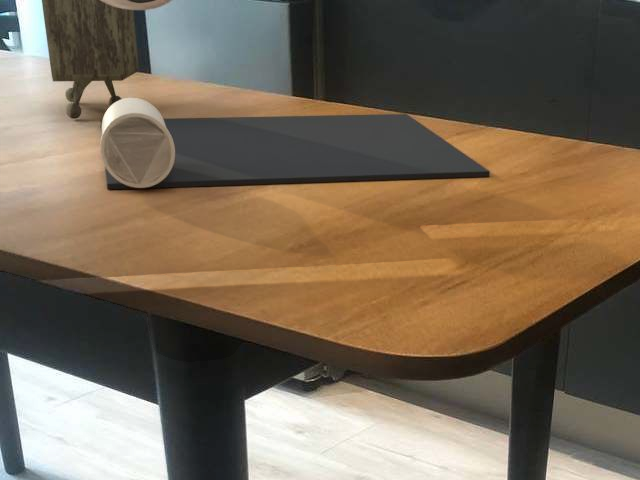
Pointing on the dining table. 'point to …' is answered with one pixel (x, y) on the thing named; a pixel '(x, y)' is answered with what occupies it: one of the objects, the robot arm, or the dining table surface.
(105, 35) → the tabletop clock
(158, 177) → the cap
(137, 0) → the robot arm
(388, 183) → the dining table surface
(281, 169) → the mat
